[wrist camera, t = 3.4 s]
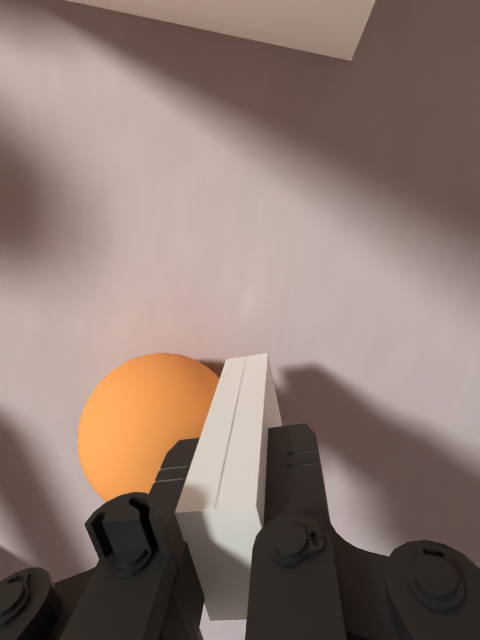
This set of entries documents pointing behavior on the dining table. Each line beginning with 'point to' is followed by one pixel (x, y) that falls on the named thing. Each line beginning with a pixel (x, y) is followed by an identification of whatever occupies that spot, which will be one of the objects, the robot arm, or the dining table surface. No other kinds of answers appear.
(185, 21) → the milk
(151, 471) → the ball
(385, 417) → the dining table surface
